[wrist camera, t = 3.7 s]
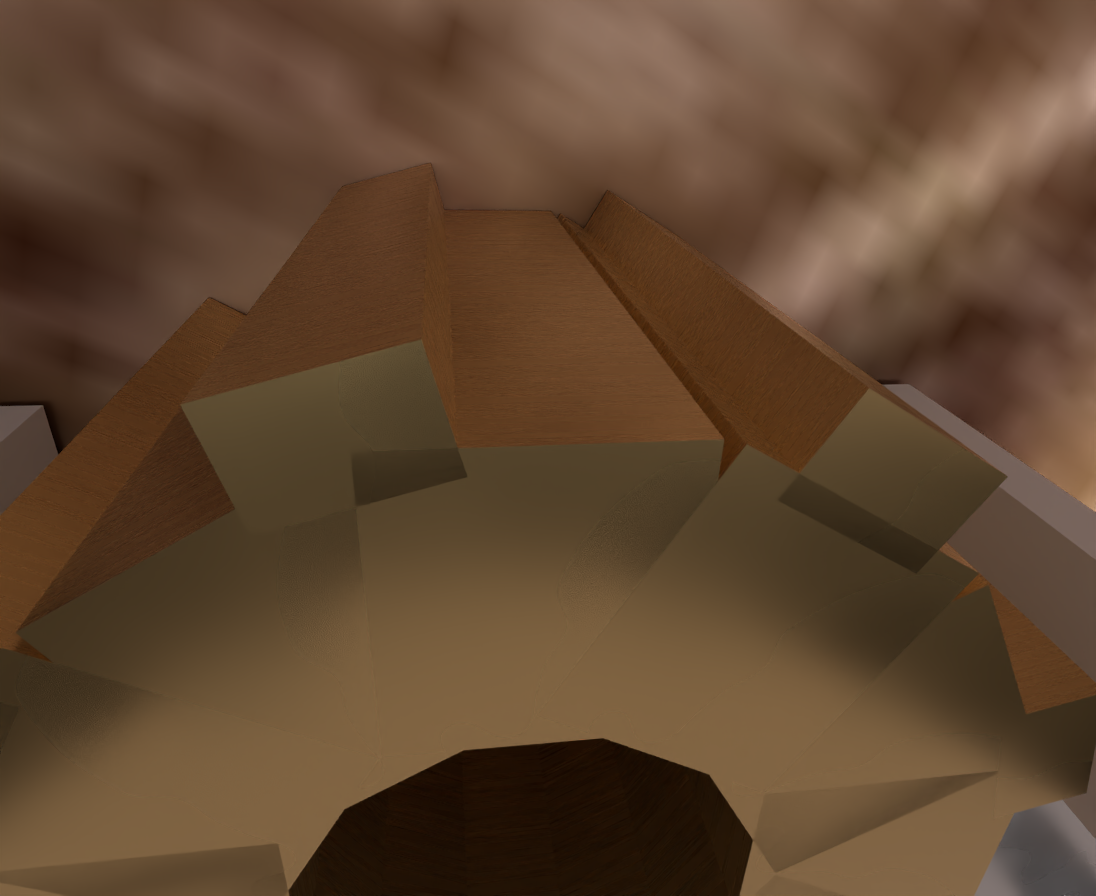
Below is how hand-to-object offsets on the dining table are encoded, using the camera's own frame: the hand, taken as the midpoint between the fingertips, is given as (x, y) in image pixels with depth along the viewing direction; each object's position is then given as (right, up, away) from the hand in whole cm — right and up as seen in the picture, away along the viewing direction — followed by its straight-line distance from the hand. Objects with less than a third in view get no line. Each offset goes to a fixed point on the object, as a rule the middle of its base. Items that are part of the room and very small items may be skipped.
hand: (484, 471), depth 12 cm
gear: (0, 0, 0) cm, 0 cm away
